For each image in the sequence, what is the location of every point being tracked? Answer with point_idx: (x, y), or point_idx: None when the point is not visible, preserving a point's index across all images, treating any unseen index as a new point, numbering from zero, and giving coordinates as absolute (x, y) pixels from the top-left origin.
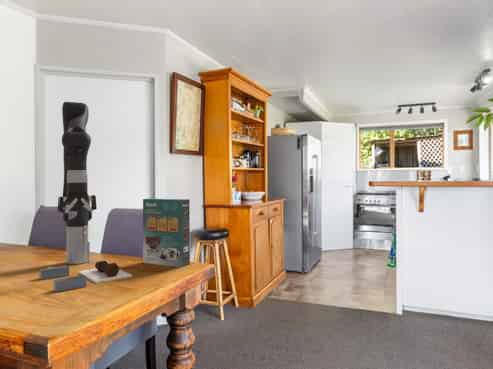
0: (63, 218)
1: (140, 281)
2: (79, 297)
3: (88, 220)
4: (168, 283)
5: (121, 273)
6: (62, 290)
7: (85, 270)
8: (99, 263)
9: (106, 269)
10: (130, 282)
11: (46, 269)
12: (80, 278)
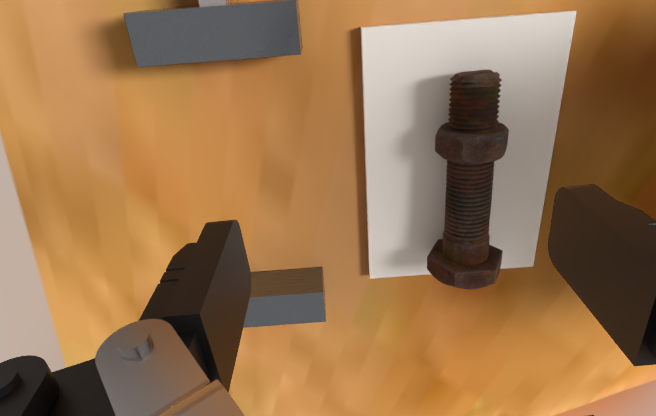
0: (169, 280)
1: (513, 335)
2: (276, 387)
3: (550, 243)
4: (564, 399)
5: (513, 220)
6: None
7: (400, 30)
8: (455, 160)
9: (435, 277)
10: (478, 328)
11: (166, 48)
12: (301, 321)
